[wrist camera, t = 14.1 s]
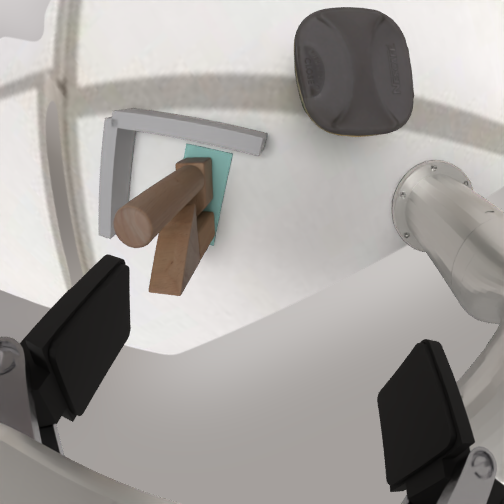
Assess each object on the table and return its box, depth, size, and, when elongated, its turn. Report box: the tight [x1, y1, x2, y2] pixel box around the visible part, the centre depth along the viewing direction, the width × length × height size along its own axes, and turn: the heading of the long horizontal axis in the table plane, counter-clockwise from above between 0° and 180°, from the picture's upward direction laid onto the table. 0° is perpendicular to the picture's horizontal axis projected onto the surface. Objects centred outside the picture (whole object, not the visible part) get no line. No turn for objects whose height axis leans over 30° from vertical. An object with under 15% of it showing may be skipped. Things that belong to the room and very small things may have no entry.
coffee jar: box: [294, 7, 414, 137], centre depth 23 cm, size 10×8×19 cm
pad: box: [184, 144, 233, 246], centre depth 39 cm, size 6×13×1 cm, turn 167°
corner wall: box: [99, 108, 267, 239], centre depth 37 cm, size 19×17×5 cm
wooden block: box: [113, 157, 215, 296], centre depth 31 cm, size 4×11×18 cm, turn 0°
